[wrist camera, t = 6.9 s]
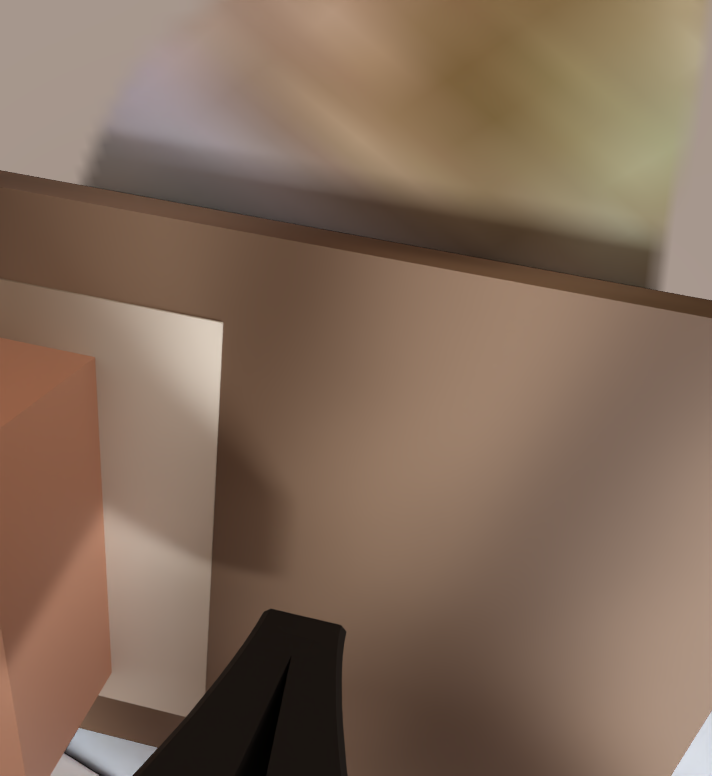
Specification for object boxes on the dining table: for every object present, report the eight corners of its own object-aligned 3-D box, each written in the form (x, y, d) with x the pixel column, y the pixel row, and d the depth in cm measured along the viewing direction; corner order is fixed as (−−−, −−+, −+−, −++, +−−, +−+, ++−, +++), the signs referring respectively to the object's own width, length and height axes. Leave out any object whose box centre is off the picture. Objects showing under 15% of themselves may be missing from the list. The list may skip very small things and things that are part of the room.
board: (887, 332, 9) (933, 360, 9) (607, 818, 15) (616, 864, 14) (-303, 114, 11) (-374, 118, 10) (-139, 633, 17) (-174, 665, 16)
